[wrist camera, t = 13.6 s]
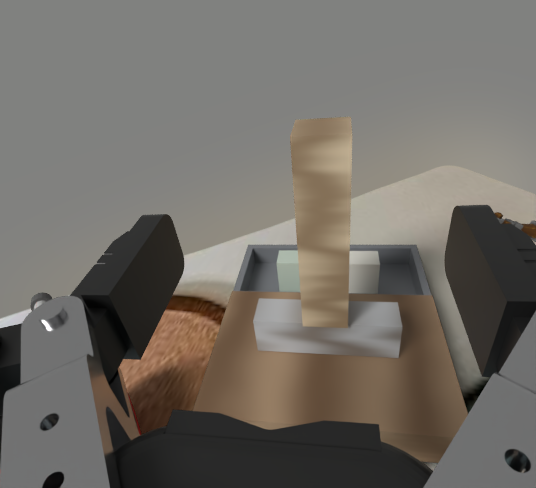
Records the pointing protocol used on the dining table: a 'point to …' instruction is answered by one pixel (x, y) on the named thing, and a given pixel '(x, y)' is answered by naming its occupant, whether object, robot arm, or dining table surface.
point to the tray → (390, 256)
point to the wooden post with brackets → (520, 226)
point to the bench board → (340, 379)
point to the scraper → (325, 258)
